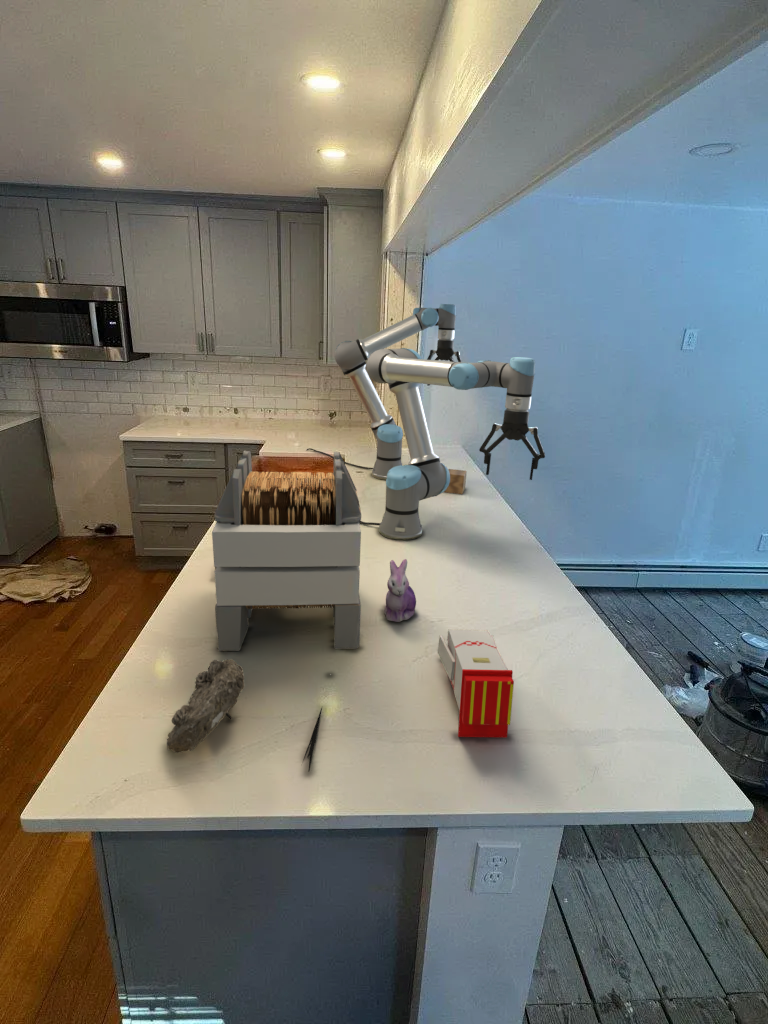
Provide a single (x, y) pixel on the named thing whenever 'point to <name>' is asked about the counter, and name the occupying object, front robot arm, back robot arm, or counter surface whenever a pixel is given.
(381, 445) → the back robot arm
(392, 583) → the figurine
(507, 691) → the toy
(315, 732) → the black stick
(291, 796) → the counter surface
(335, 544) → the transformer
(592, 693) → the counter surface
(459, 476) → the block
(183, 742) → the fossil
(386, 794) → the counter surface
